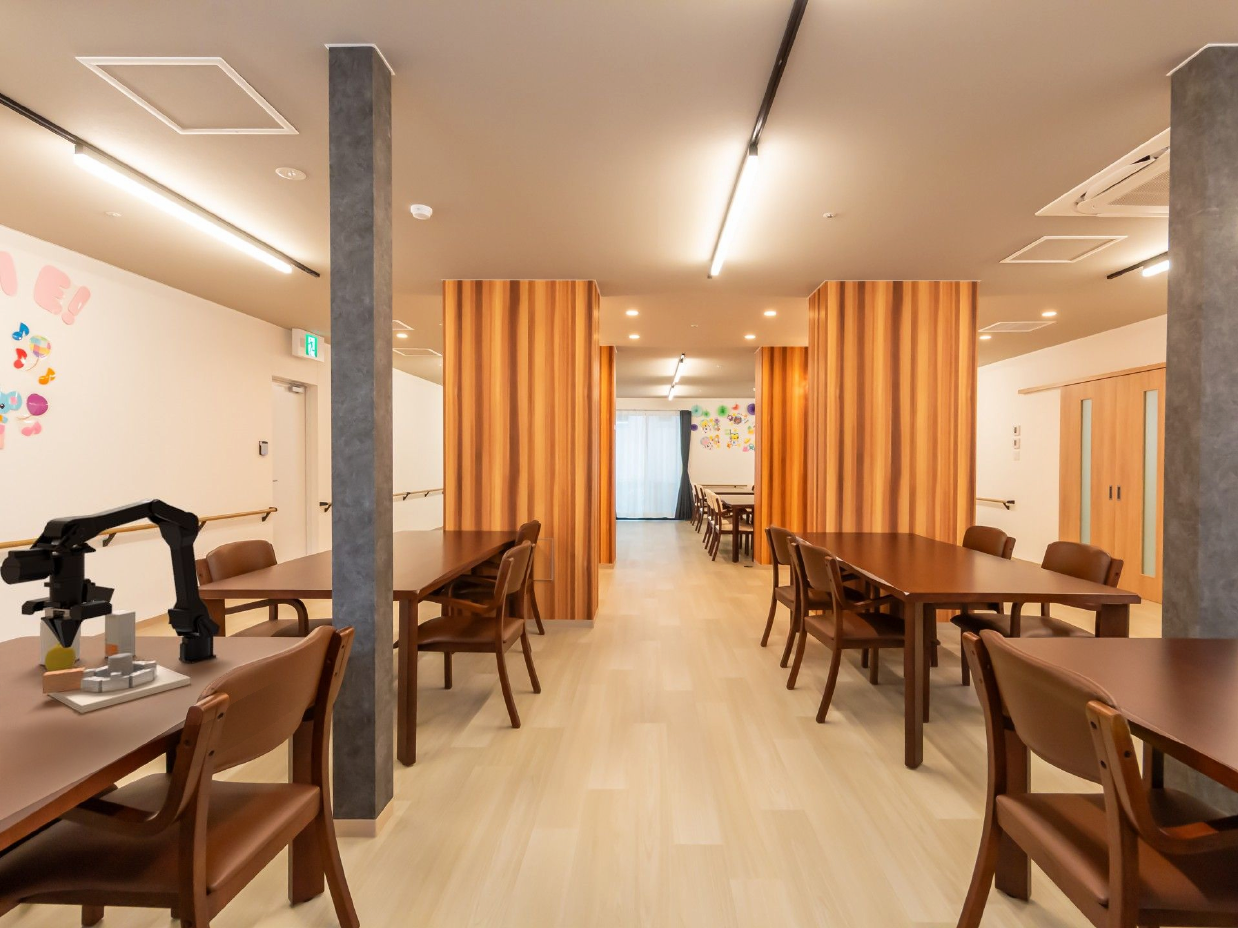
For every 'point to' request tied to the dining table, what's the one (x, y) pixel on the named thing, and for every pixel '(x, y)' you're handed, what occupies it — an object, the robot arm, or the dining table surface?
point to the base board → (124, 663)
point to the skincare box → (120, 632)
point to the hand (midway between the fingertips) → (67, 647)
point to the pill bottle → (55, 642)
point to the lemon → (60, 658)
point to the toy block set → (98, 678)
